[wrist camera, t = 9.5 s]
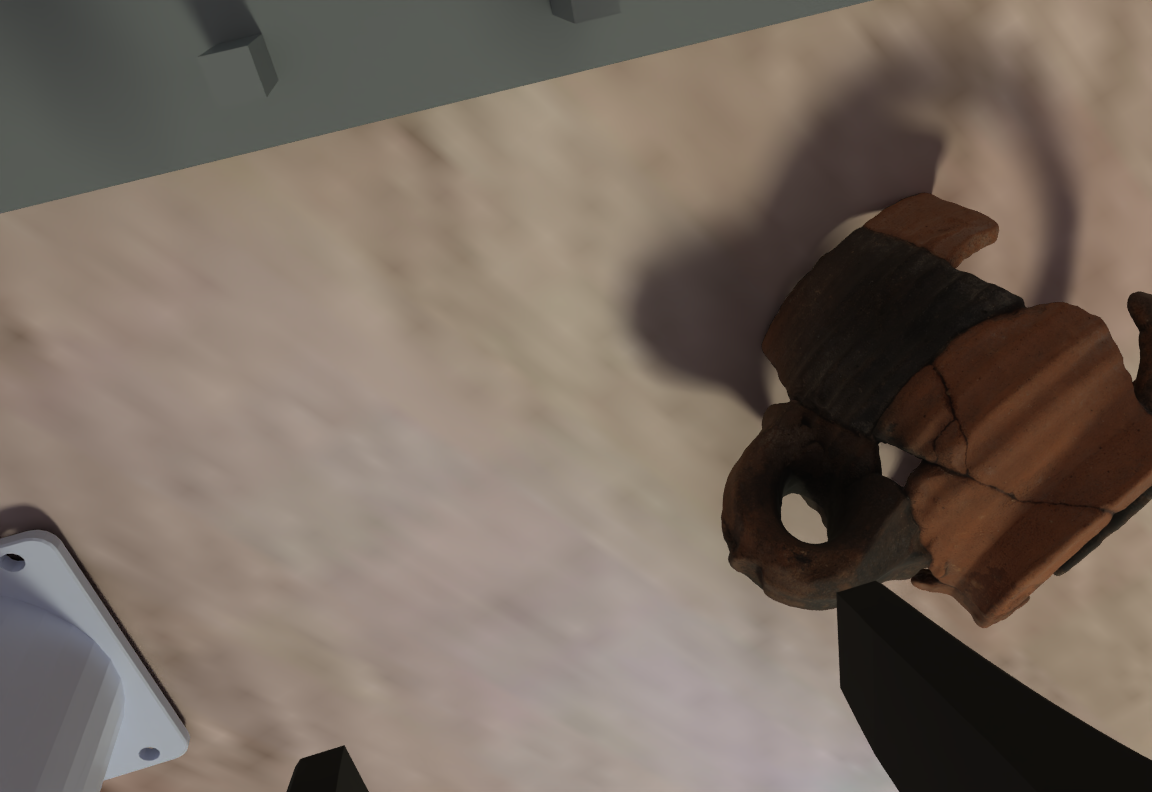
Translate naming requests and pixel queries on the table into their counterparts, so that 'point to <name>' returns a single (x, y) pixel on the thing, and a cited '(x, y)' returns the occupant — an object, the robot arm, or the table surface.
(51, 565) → the robot arm
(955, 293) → the pottery mug
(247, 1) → the miniature lathe model
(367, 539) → the table surface
